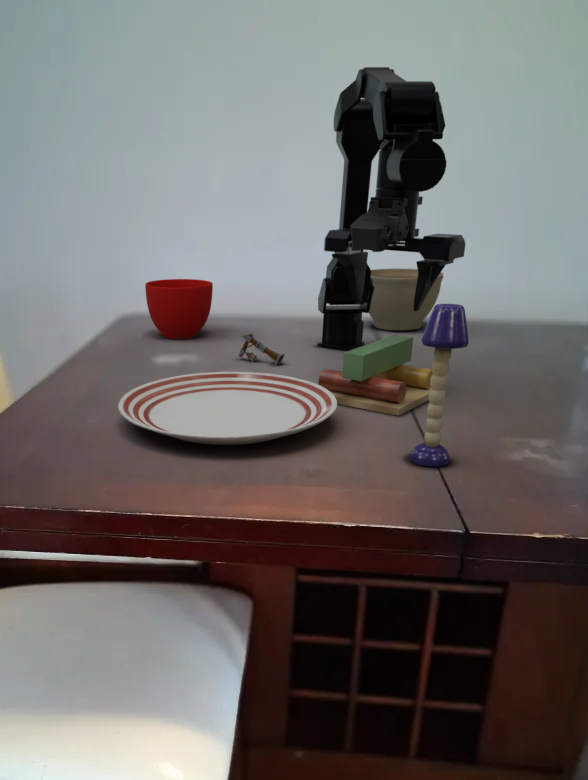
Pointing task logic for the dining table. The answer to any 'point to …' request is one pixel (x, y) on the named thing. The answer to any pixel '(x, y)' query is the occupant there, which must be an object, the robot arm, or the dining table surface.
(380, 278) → the planter bowl
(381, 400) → the rod rack
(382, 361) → the bar
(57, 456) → the dining table surface
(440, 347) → the toy lamp
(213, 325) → the dining table surface
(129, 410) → the dinner plate
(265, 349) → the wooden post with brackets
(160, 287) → the ceramic cup
